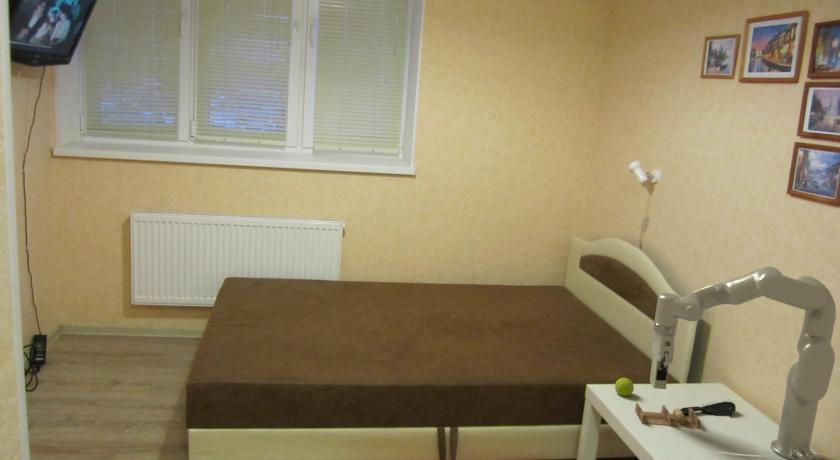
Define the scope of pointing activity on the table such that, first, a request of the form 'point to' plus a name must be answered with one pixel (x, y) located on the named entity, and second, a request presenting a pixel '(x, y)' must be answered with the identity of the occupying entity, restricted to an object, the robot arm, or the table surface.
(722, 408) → the hairbrush
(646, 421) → the rack
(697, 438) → the table surface
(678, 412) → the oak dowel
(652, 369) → the skincare box
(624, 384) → the tennis ball
